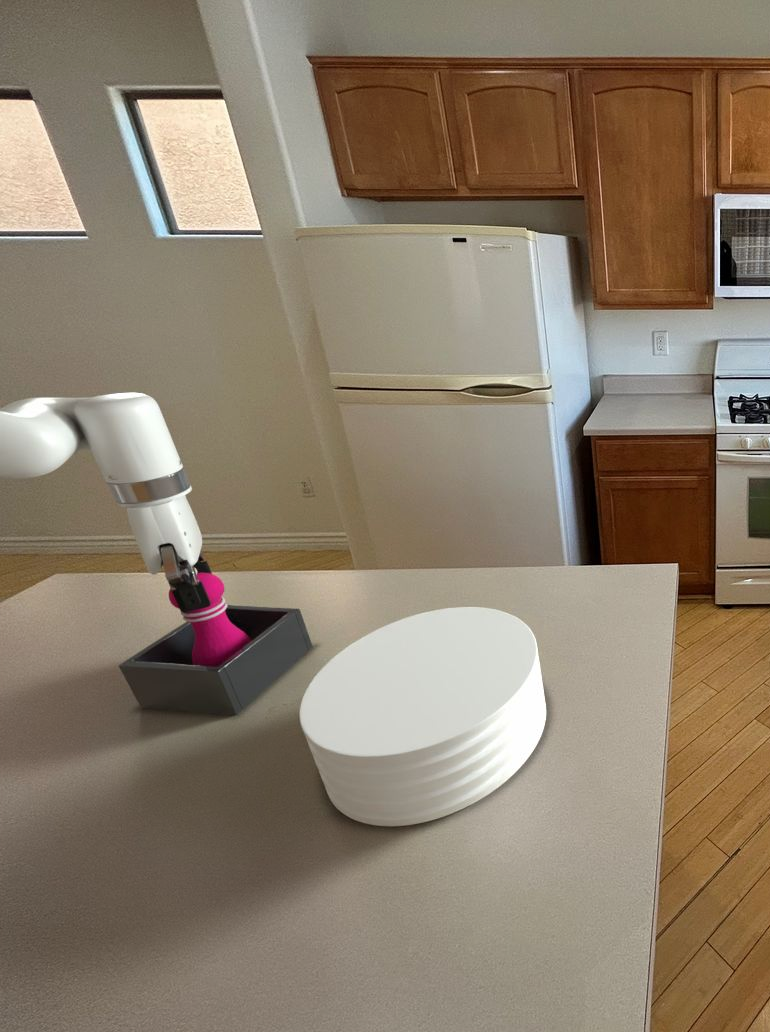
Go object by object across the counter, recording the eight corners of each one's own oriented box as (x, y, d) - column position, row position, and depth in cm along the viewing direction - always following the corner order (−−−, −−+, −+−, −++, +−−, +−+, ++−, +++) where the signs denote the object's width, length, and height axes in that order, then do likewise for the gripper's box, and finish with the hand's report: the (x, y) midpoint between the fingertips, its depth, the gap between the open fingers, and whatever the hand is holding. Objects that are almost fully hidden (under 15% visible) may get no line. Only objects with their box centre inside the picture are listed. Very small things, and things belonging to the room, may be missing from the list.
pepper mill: (203, 699, 83) (151, 587, 75) (203, 673, 88) (153, 565, 80) (263, 677, 87) (220, 569, 79) (260, 654, 92) (218, 550, 84)
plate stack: (273, 779, 71) (244, 712, 66) (446, 647, 95) (433, 591, 90) (438, 863, 61) (417, 791, 57) (584, 693, 85) (577, 632, 81)
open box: (140, 708, 81) (117, 665, 78) (230, 642, 95) (214, 603, 92) (236, 714, 80) (217, 672, 77) (313, 647, 94) (299, 608, 91)
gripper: (126, 472, 79) (174, 579, 86) (95, 516, 66) (155, 637, 73) (195, 462, 83) (235, 565, 90) (179, 501, 70) (228, 618, 77)
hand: (199, 596), depth 82 cm, fingers closed on pepper mill, 6 cm apart
